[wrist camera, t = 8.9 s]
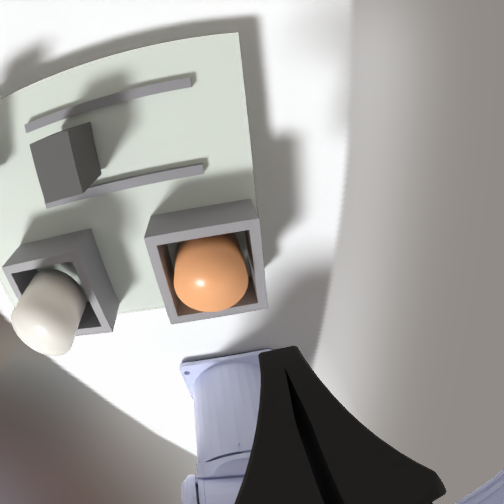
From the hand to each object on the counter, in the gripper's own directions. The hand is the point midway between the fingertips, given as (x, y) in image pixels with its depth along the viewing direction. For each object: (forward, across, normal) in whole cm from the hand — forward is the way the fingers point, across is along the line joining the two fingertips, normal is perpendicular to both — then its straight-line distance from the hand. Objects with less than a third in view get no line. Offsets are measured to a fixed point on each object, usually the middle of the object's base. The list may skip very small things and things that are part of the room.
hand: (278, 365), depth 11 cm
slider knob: (+8, +8, -7) cm, 13 cm away
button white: (+6, +11, 0) cm, 13 cm away
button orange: (+8, +2, 0) cm, 8 cm away
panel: (+10, +8, -4) cm, 14 cm away
